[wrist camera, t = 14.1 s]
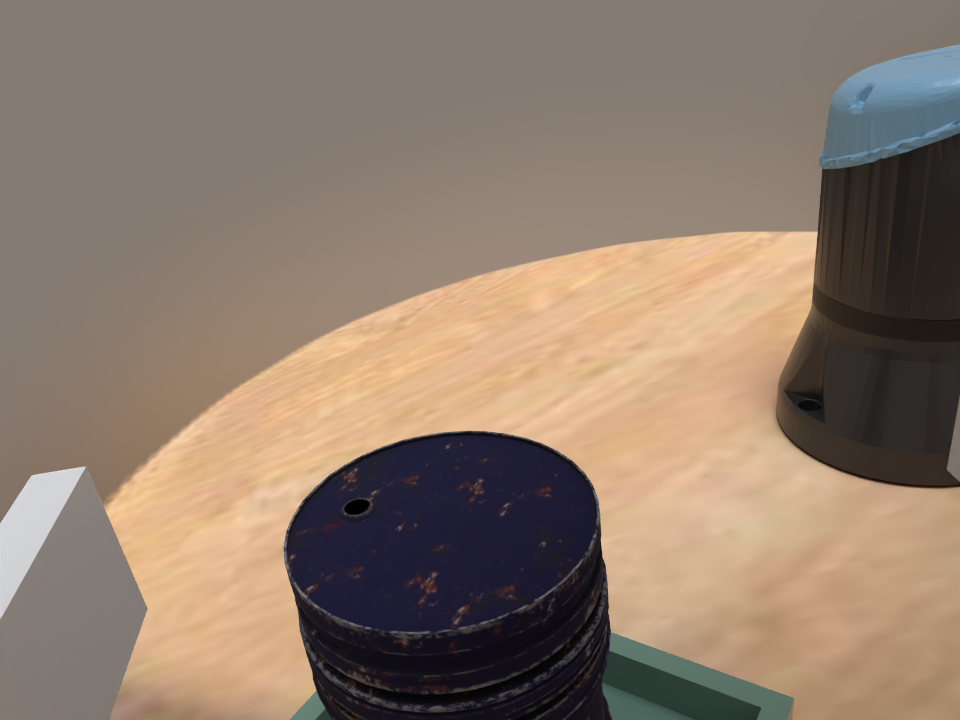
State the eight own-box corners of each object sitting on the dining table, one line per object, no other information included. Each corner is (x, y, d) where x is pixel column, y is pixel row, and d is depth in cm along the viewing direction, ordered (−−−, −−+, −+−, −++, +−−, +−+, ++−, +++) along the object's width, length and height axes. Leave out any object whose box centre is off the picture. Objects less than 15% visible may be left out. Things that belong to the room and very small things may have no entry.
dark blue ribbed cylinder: (637, 738, 34) (627, 439, 27) (598, 1001, 26) (570, 665, 19) (417, 699, 37) (360, 421, 30) (320, 923, 29) (212, 609, 22)
